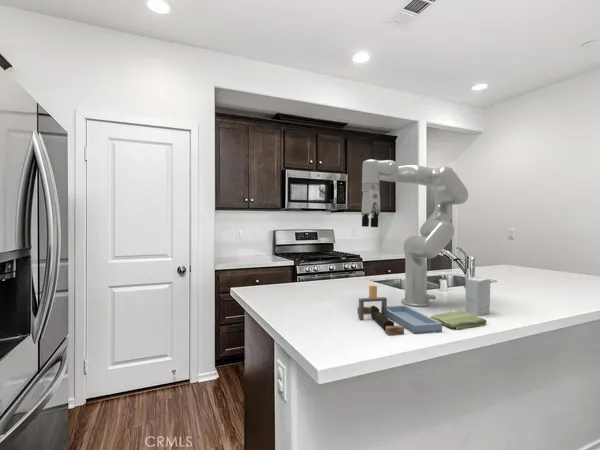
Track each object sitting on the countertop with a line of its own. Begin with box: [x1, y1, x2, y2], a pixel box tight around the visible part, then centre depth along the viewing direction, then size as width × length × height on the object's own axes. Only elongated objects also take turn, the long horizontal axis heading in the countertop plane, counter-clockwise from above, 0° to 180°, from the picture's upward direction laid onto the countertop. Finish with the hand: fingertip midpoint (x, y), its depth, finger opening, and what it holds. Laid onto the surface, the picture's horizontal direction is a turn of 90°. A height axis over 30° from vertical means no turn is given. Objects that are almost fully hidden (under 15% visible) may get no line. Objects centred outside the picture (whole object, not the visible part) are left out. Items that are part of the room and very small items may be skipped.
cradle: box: [357, 306, 405, 336], centre depth 121 cm, size 6×26×2 cm, turn 13°
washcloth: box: [429, 309, 488, 331], centre depth 122 cm, size 13×18×3 cm
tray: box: [380, 304, 443, 335], centre depth 122 cm, size 11×24×3 cm, turn 13°
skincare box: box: [464, 276, 491, 317], centre depth 134 cm, size 8×6×15 cm
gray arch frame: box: [358, 284, 388, 320], centre depth 126 cm, size 11×2×13 cm, turn 103°
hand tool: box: [370, 305, 395, 332], centre depth 121 cm, size 19×4×5 cm, turn 3°
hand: (369, 226), depth 141 cm, fingers open, 9 cm apart
